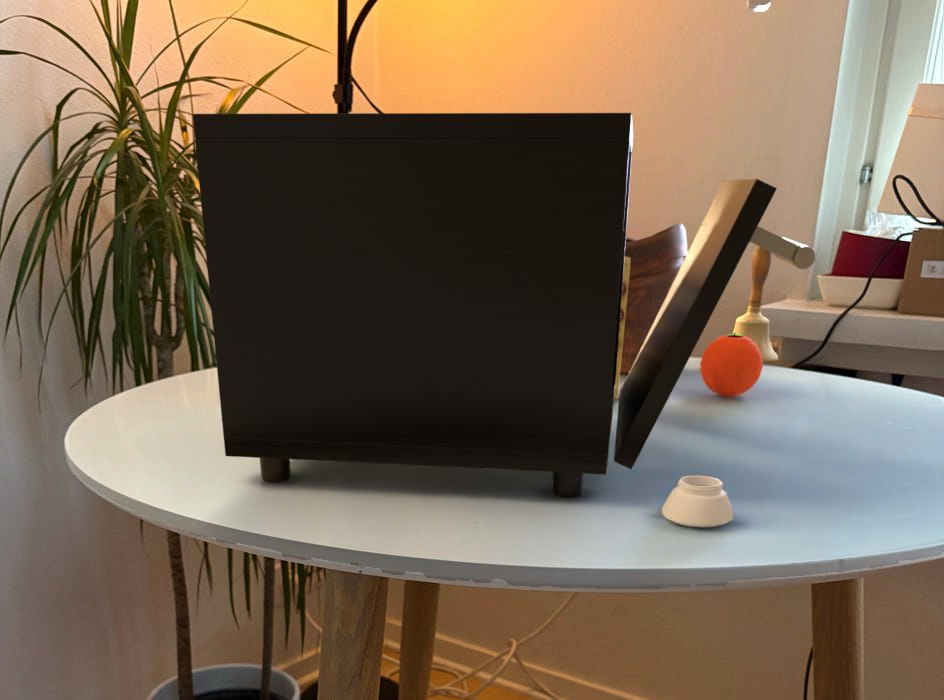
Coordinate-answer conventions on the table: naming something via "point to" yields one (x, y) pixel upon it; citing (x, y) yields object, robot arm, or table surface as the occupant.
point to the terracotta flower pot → (649, 284)
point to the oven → (417, 287)
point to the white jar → (698, 503)
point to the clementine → (731, 365)
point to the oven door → (695, 305)
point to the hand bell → (757, 307)
